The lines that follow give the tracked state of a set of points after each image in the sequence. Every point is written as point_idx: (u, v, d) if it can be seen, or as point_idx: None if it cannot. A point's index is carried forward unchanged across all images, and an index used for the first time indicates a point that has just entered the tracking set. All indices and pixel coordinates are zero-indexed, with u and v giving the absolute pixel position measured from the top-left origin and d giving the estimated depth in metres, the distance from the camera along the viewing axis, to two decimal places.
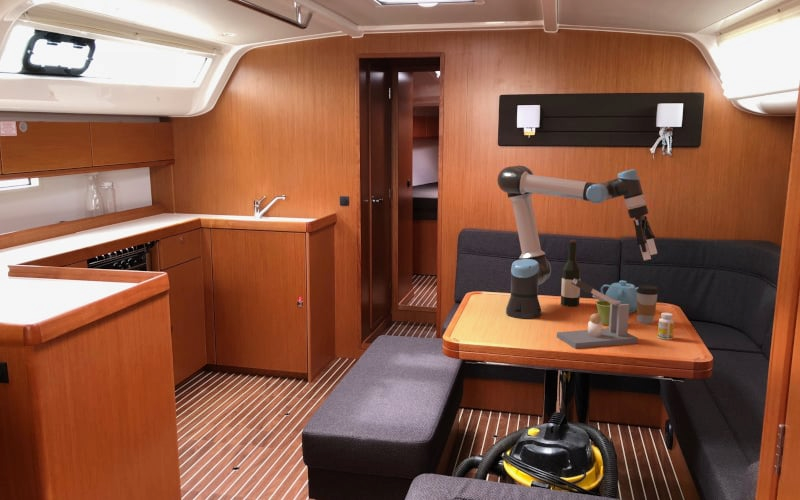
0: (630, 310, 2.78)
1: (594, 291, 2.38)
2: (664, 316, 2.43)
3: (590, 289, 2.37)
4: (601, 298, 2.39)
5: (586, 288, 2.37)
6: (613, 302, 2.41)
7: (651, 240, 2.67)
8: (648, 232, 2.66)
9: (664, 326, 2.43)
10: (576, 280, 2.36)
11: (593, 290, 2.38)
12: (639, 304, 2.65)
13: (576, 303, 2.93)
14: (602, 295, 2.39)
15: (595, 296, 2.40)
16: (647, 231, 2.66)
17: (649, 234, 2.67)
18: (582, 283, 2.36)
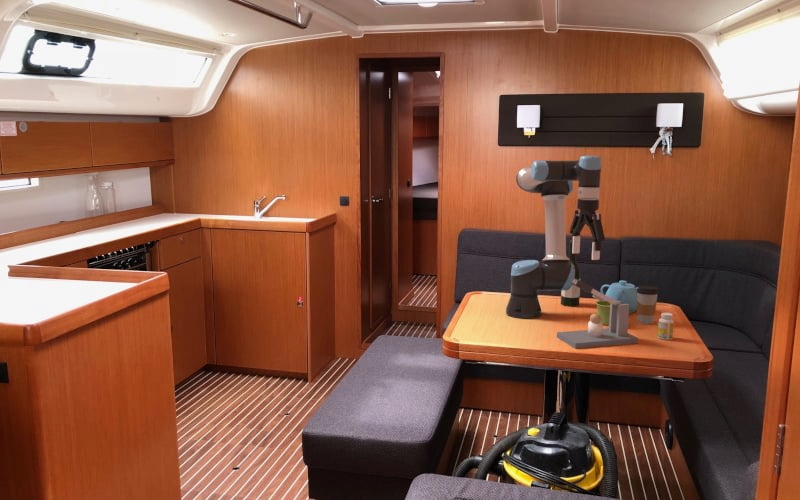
0: (630, 310, 2.78)
1: (594, 291, 2.38)
2: (664, 316, 2.43)
3: (590, 289, 2.37)
4: (601, 298, 2.39)
5: (586, 288, 2.37)
6: (613, 302, 2.41)
7: None
8: None
9: (664, 326, 2.43)
10: (576, 280, 2.36)
11: (593, 290, 2.38)
12: (639, 305, 2.65)
13: (576, 303, 2.93)
14: (602, 295, 2.39)
15: (595, 296, 2.40)
16: None
17: None
18: (582, 283, 2.36)
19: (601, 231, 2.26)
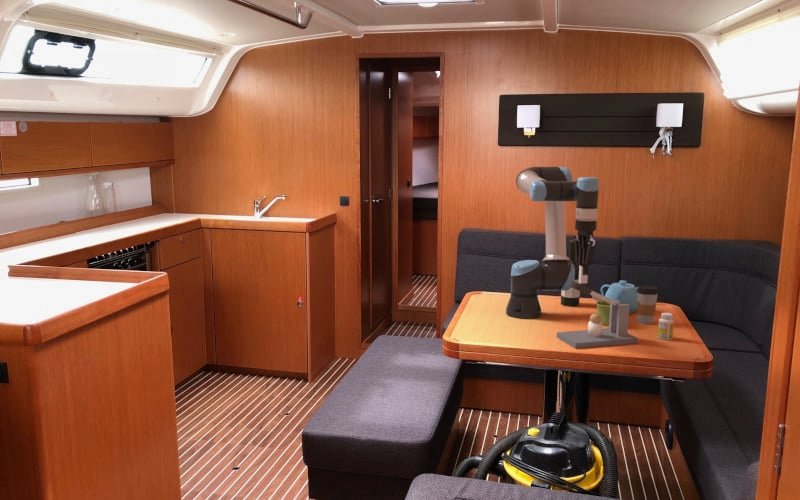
0: (630, 310, 2.78)
1: (593, 293, 2.38)
2: (664, 316, 2.43)
3: (589, 291, 2.37)
4: (600, 299, 2.39)
5: (585, 290, 2.37)
6: (613, 303, 2.41)
7: None
8: None
9: (664, 326, 2.43)
10: (574, 283, 2.36)
11: (592, 292, 2.38)
12: (639, 305, 2.65)
13: (576, 303, 2.93)
14: (601, 296, 2.39)
15: (594, 298, 2.40)
16: None
17: None
18: (581, 286, 2.36)
19: (591, 257, 2.32)
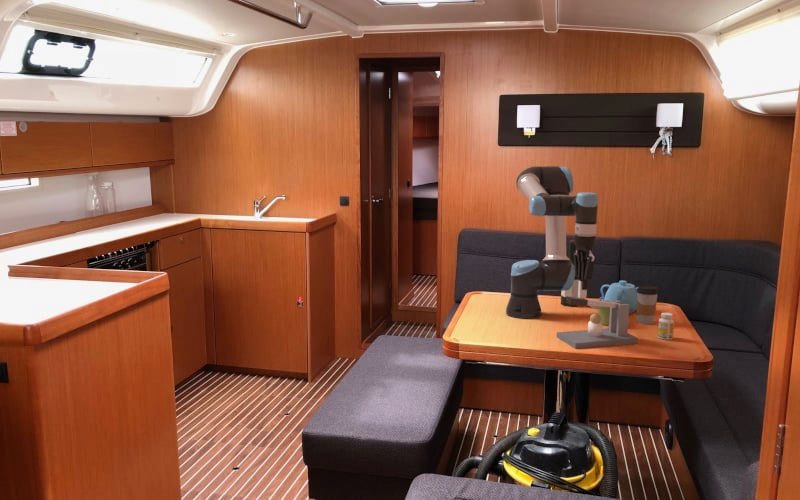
0: (630, 310, 2.78)
1: (590, 303, 2.38)
2: (664, 316, 2.43)
3: (585, 302, 2.38)
4: (599, 306, 2.40)
5: (581, 303, 2.37)
6: (612, 305, 2.41)
7: None
8: None
9: (664, 326, 2.43)
10: (569, 299, 2.37)
11: (589, 302, 2.38)
12: (639, 305, 2.65)
13: None
14: (599, 303, 2.39)
15: (593, 306, 2.40)
16: None
17: None
18: (576, 300, 2.36)
19: (590, 272, 2.33)
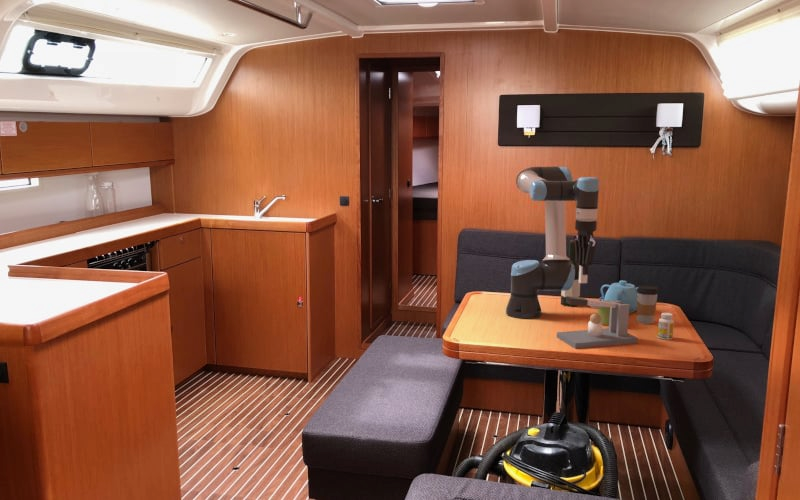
0: (630, 310, 2.78)
1: (590, 303, 2.38)
2: (664, 316, 2.43)
3: (585, 302, 2.38)
4: (599, 306, 2.40)
5: (581, 303, 2.37)
6: (612, 305, 2.41)
7: None
8: None
9: (664, 326, 2.43)
10: (569, 299, 2.37)
11: (589, 302, 2.38)
12: (639, 304, 2.65)
13: None
14: (599, 303, 2.39)
15: (593, 306, 2.40)
16: None
17: None
18: (576, 300, 2.36)
19: (591, 257, 2.33)
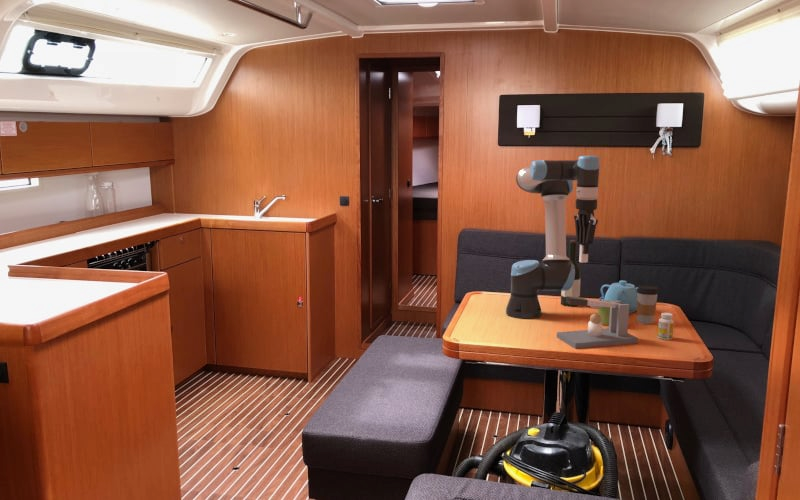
0: (630, 310, 2.78)
1: (590, 303, 2.38)
2: (664, 316, 2.43)
3: (585, 302, 2.38)
4: (599, 306, 2.40)
5: (581, 303, 2.37)
6: (612, 305, 2.41)
7: None
8: None
9: (664, 326, 2.43)
10: (569, 299, 2.37)
11: (589, 302, 2.38)
12: (639, 304, 2.65)
13: None
14: (599, 303, 2.39)
15: (593, 306, 2.40)
16: None
17: None
18: (576, 300, 2.36)
19: (592, 236, 2.32)
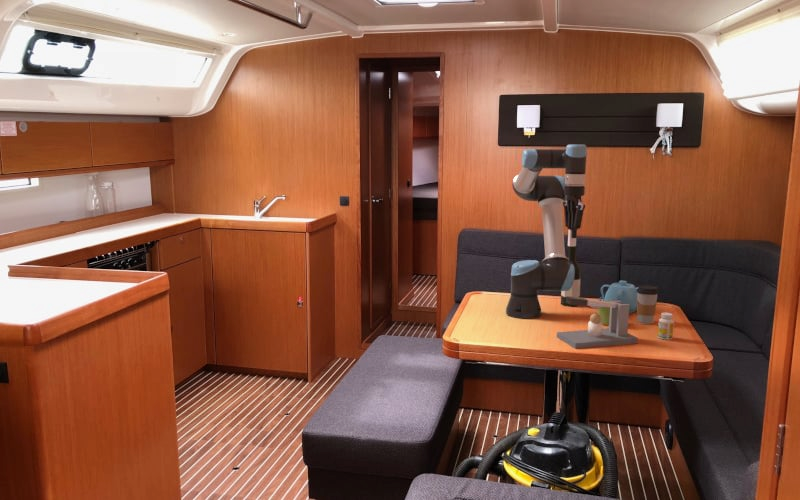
0: (630, 310, 2.78)
1: (590, 303, 2.38)
2: (664, 316, 2.43)
3: (585, 302, 2.38)
4: (599, 306, 2.40)
5: (581, 303, 2.37)
6: (612, 305, 2.41)
7: None
8: None
9: (664, 326, 2.43)
10: (569, 299, 2.37)
11: (589, 302, 2.38)
12: (639, 304, 2.65)
13: None
14: (599, 303, 2.39)
15: (593, 306, 2.40)
16: None
17: None
18: (576, 300, 2.36)
19: (579, 221, 2.43)
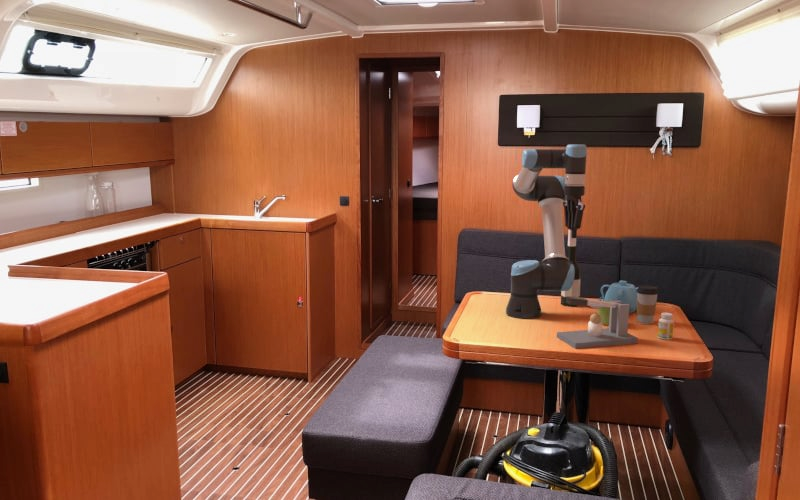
0: (630, 310, 2.78)
1: (590, 303, 2.38)
2: (664, 316, 2.43)
3: (585, 302, 2.38)
4: (599, 306, 2.40)
5: (581, 303, 2.37)
6: (612, 305, 2.41)
7: None
8: None
9: (664, 326, 2.43)
10: (569, 299, 2.37)
11: (589, 302, 2.38)
12: (639, 304, 2.65)
13: None
14: (599, 303, 2.39)
15: (593, 306, 2.40)
16: None
17: None
18: (576, 300, 2.36)
19: (579, 221, 2.43)
